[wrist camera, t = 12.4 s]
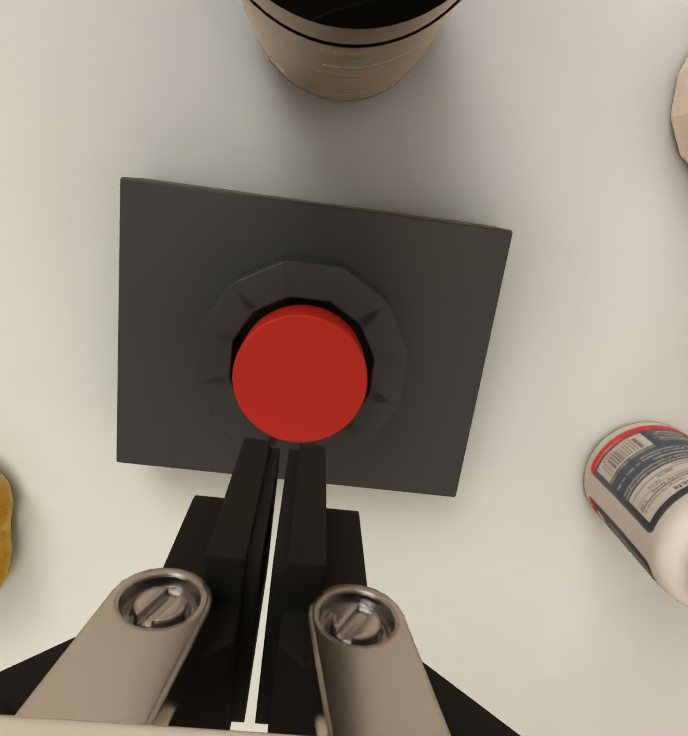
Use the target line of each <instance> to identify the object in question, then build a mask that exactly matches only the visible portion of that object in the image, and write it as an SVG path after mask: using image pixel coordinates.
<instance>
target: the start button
mask: <svg viewBox="0 0 688 736" xmlns="http://www.w3.org/2000/svg"><path fill="white" fill-rule="evenodd" d="M367 381H368V379H367V369H366V364H365V359H364V355H363V350H362V347H361V344H360V342H359V340H358V338H357V336H356V334H355V333H354V331H353V330H352V328H351V327H350V326H349V325H348V324H347V323H346V322H345V321H344V320H343V319H342V318H340V317H339V316H337V315H336V314H334V313H333V312H331V311H328V310H326V309H324V308H321V307H318V306H312V305H302V304H300V305H290V306H285V307H282V308H279V309H276V310H274V311H272V312H270V313H268V314H267V315H265V316H264V317H262V318H261V319H260V320H259V321H258V322H257V323H256V324H255V325H254V326H253V327H252V329H251V330H250V331H249V333H248V335H247V336H246V338H245V340H244V342H243V343H242V345H241V347H240V349H239V351H238V353H237V356H236V358H235V362H234V366H233V373H232V382H233V390H234V393H235V397H236V399H237V402H238V404H239V406H240V408H241V410H242V411H243V413H244V414H245V415H246V417H247V418H248V419H249V420H250V421H251V422H252V423H253V424H254V425H255V426H256V427H258V428H259V429H260V430H261V431H263V432H265V433H267V434H268V435H270V436H273V437H275V438H278V439H281V440H285V441H290V442H311V441H317V440H320V439H324V438H327V437H329V436H331V435H333V434H335V433H336V432H338V431H340V430H341V429H343V428H344V427H345V426H346V425H347V424H348V423H349V422H350V421H351V420H352V419H353V418H354V417H355V415H356V414H357V413H358V411H359V409H360V407H361V405H362V403H363V401H364V398H365V394H366V390H367Z"/></svg>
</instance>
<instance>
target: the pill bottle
mask: <svg viewBox="0 0 688 736" xmlns="http://www.w3.org/2000/svg"><path fill="white" fill-rule="evenodd" d="M584 486H585V492H586V496H587V498H588V501H589V502H590V504H591V506H592V507H593V509H594V510H595V511H596V513H597V514H598V515H599V516H600V517H601V519H602V520H603V521H604V522H605V523H606V524H607V526H608V527H609V528H610V529H611V530H612V531H613V533H614V534H615V535H616V536H617V537H618V538H619V540H620V541H621V542H622V543H623V544H624V545H625V547H626V548H627V549H628V550H629V551H630V552H631V554H632V555H633V556H634V557H635V558H636V559H637V560H638V562H639V563H640V564H641V565H642V566H643V567H644V569H645V570H646V571H647V572H648V573H649V574H650V576H651V577H652V578H653V579H654V580H655V581H656V583H657V584H658V585H659V586H660V587H661V588H662V589H663V590H664V591H665V592H666V593H667V594H668V595H670V596H671V597H672V598H674V599H675V600H676V601H678V602H680V603H682V604H684V605H686V606H688V436H687V435H686V434H684V433H682V432H680V431H679V430H677V429H675V428H674V427H671V426H669V425H666V424H662V423H656V422H641V423H635V424H631V425H628V426H625V427H622V428H620V429H618V430H616V431H615V432H613V433H611V434H610V435H609V436H607V437H606V438H605V439H604V440H603V441H602V442H601V443H600V444H599V445H598V446H597V447H596V448H595V450H594V451H593V453H592V454H591V456H590V458H589V460H588V463H587V466H586V469H585V474H584Z"/></svg>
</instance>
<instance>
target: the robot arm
mask: <svg viewBox="0 0 688 736" xmlns="http://www.w3.org/2000/svg"><path fill="white" fill-rule="evenodd" d="M279 459H280V448H274V447H271V440H265V439H255V438H246V437H245V438H244V440H243V443H242V447H241V450H240V453H239V456H238V459H237V462H236V465H235V468H234V471H233V474H232V477H231V480H230V483H229V486H228V489H227V492H226V495H225V498H218V497H208V496H198V495H196V496H195V497H194V498H193V500H192V502H191V505H190V507H189V509H188V512H187V514H186V516H185V519H184V521H183V523H182V525H181V528H180V530H179V532H178V535H177V537H176V539H175V542H174V544H173V546H172V548H171V551H170V553H169V555H168V558H167V560H166V562H165V565H164V567H163V568H157V569H149V570H146V571H143V572H140V573H136V574H134V575H132V576H130V577H129V578H127V579H125V580H123V581H122V582H121V583H120V584H119V585H118V586H117V587H115V588H114V589H113V590H112V592H111V593H110V594H109V595H108V597H107V598H106V599H105V601H104V602H103V603H102V604H101V606H100V607H99V608H98V609H97V611H96V612H95V613H94V615H93V616H92V617H91V618H90V620H89V621H88V622H87V623H86V625H85V626H84V627H83V629H82V630H81V631H80V632H79V634H78V635H77V636H76V637H74V638H72V639H70V640H68V641H66V642H64V643H61V644H59V645H57V646H55V647H53V648H51V649H48V650H46V651H44V652H42V653H40V654H38V655H35V656H33V657H31V658H29V659H27V660H24V661H22V662H20V663H18V664H16V665H14V666H11V667H9V668H7V669H5V670H3V671H1V672H0V736H520V735H519V734H517V733H516V732H515V731H513V730H512V729H511V728H509V727H508V726H507V725H505V724H504V723H503V722H501V721H500V720H499V719H497V718H496V717H495V716H494V715H492V714H491V713H490V712H488V711H487V710H486V709H484V708H483V707H482V706H480V705H479V704H478V703H476V702H475V701H474V700H472V699H471V698H470V697H468V696H467V695H466V694H464V693H463V692H462V691H460V690H459V689H458V688H456V687H455V686H454V685H453V684H451V683H450V682H449V681H447V680H446V679H445V678H443V677H442V676H441V675H439V674H438V673H437V672H435V671H434V670H433V669H431V668H430V667H429V666H427V665H426V664H425V663H423V662H422V661H421V658H420V655H419V653H418V650H417V648H416V645H415V643H414V640H413V638H412V635H411V632H410V630H409V627H408V625H407V622H406V620H405V617H404V615H403V613H402V612H401V610H400V608H399V607H398V605H397V604H396V603H395V602H394V601H393V600H392V599H390V598H389V597H388V596H387V595H385V594H383V593H381V592H379V591H378V590H376V589H373V588H370V587H367V581H366V572H365V563H364V554H363V545H362V536H361V527H360V518H359V512H358V511H349V510H339V509H329V508H326V446H321V445H312V444H302V443H300V446H299V450H293V449H289V451H288V459H287V466H286V473H285V480H284V487H283V494H282V502H281V509H280V516H279V523H278V530H277V537H276V545H275V552H274V560H273V568H272V576H271V585H270V594H269V603H268V612H267V621H266V630H265V639H264V647H263V656H262V665H261V674H260V683H259V692H258V701H257V710H256V719H255V723H259V724H268V733H261V732H247V731H233V730H230V726H231V722H244V720H245V714H246V708H247V701H248V694H249V688H250V681H251V675H252V668H253V661H254V655H255V648H256V642H257V635H258V628H259V622H260V615H261V609H262V602H263V595H264V589H265V582H266V575H267V568H268V559H269V550H270V541H271V532H272V523H273V514H274V504H275V495H276V486H277V477H278V468H279Z"/></svg>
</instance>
